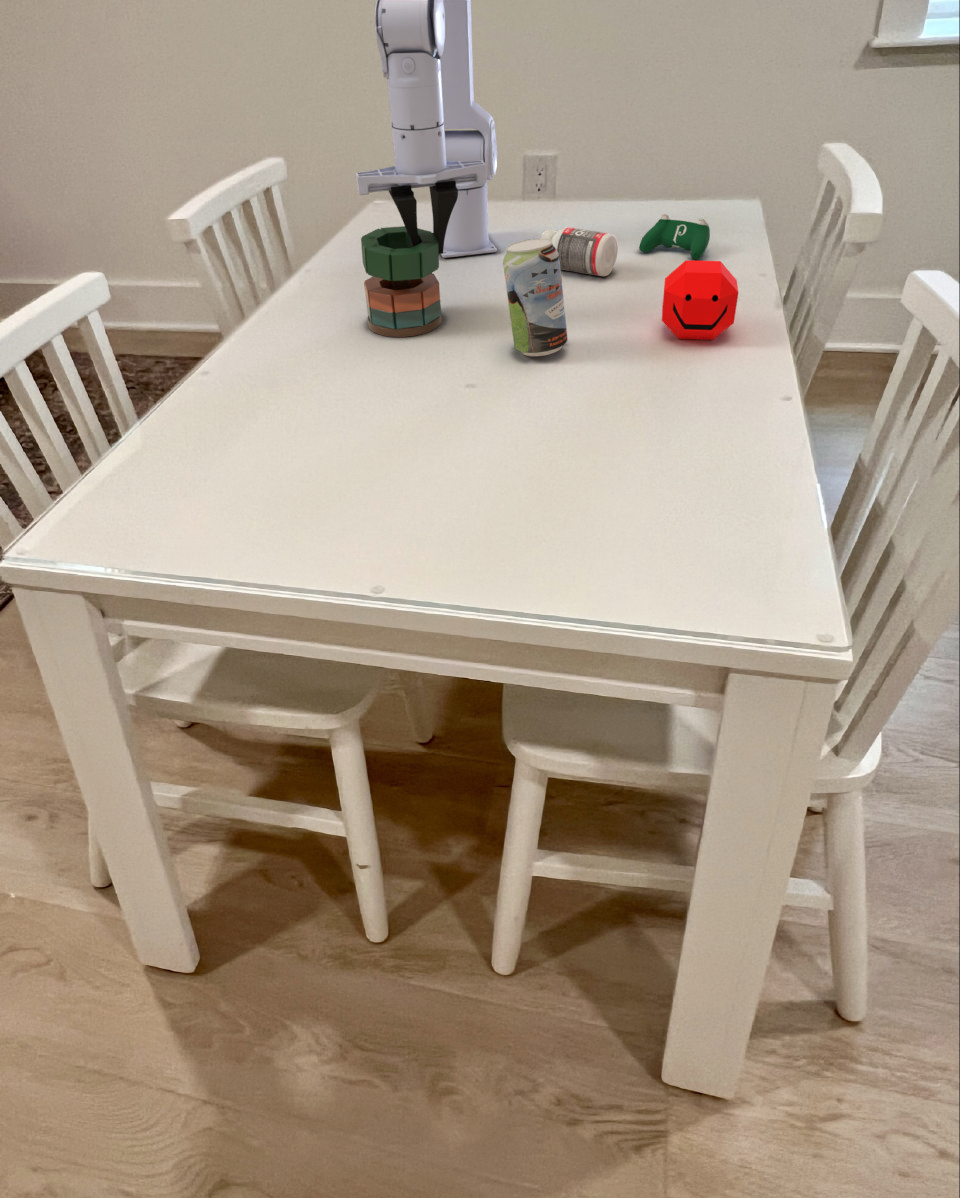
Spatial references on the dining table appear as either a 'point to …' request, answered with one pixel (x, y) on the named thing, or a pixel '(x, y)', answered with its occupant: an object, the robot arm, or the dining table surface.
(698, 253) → the gaming controller
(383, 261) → the green ring
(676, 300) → the ball
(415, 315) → the ring stack
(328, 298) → the dining table surface
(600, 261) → the pill bottle
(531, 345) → the beverage can
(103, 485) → the dining table surface
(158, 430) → the dining table surface
